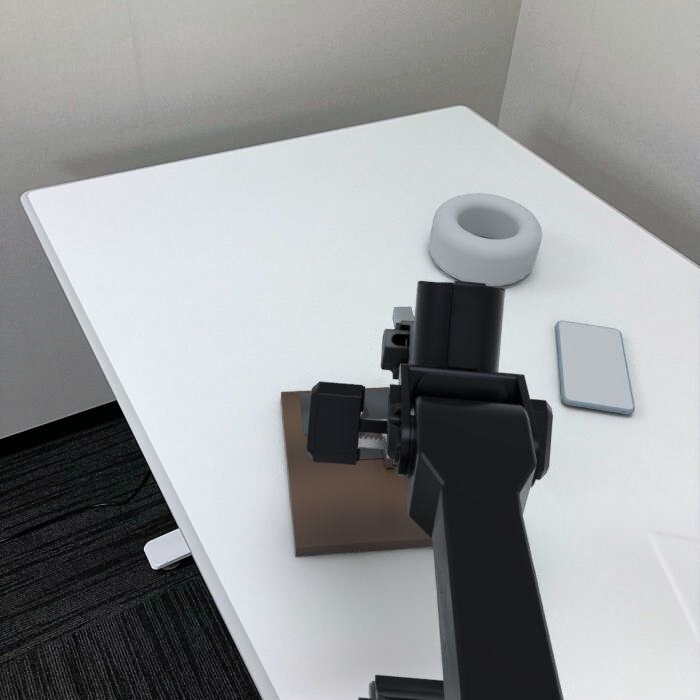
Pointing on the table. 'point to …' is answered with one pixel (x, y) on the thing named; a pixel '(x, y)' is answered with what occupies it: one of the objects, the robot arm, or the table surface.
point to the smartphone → (593, 367)
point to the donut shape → (485, 239)
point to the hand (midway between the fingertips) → (416, 423)
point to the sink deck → (344, 491)
